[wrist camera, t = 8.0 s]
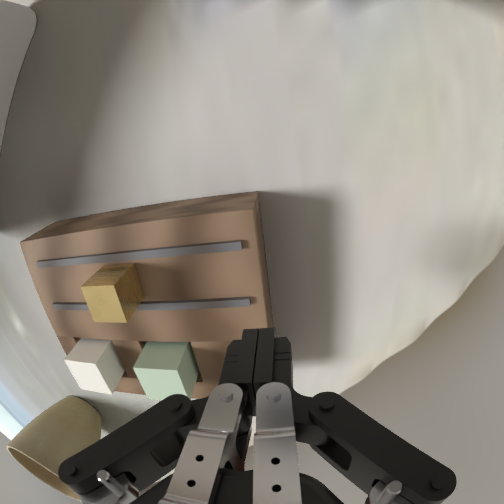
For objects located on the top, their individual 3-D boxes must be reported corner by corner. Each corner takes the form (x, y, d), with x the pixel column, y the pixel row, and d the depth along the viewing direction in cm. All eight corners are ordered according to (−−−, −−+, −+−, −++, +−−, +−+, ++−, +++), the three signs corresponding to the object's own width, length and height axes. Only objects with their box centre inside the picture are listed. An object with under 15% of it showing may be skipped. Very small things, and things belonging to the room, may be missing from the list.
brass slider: (134, 263, 22) (113, 285, 18) (144, 297, 23) (127, 322, 20) (102, 265, 22) (80, 286, 19) (113, 298, 23) (94, 322, 20)
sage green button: (191, 332, 26) (177, 370, 22) (201, 364, 28) (189, 402, 23) (151, 332, 27) (132, 367, 22) (163, 363, 28) (148, 399, 24)
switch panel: (257, 191, 25) (252, 210, 19) (276, 357, 32) (275, 401, 26) (54, 222, 28) (17, 244, 22) (104, 355, 34) (83, 388, 29)
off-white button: (117, 331, 27) (95, 363, 23) (130, 361, 29) (112, 394, 24) (87, 330, 28) (64, 359, 23) (100, 358, 29) (81, 389, 25)
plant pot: (65, 368, 37) (14, 443, 22) (136, 426, 41) (105, 505, 26) (39, 391, 41) (0, 449, 27) (97, 439, 45) (69, 500, 30)
